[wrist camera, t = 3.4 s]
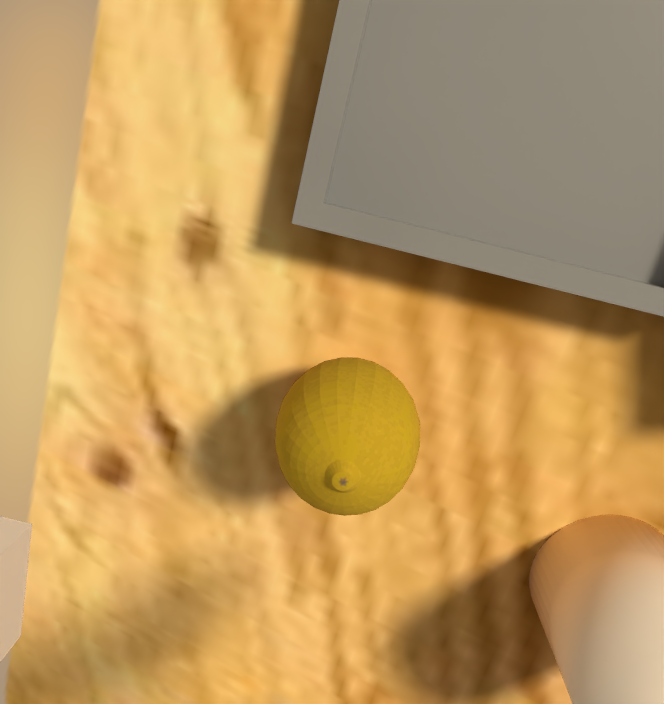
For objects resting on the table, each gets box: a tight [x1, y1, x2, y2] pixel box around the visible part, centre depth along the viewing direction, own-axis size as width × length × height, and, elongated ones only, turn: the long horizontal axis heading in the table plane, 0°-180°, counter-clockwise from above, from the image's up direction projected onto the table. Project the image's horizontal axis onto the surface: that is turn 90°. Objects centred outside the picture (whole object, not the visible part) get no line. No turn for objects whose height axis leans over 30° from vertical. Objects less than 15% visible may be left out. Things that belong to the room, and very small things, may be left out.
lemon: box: [275, 358, 420, 515], centre depth 22 cm, size 6×6×8 cm
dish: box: [292, 0, 664, 317], centre depth 21 cm, size 16×16×2 cm
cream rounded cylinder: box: [529, 515, 664, 704], centre depth 24 cm, size 7×7×8 cm
